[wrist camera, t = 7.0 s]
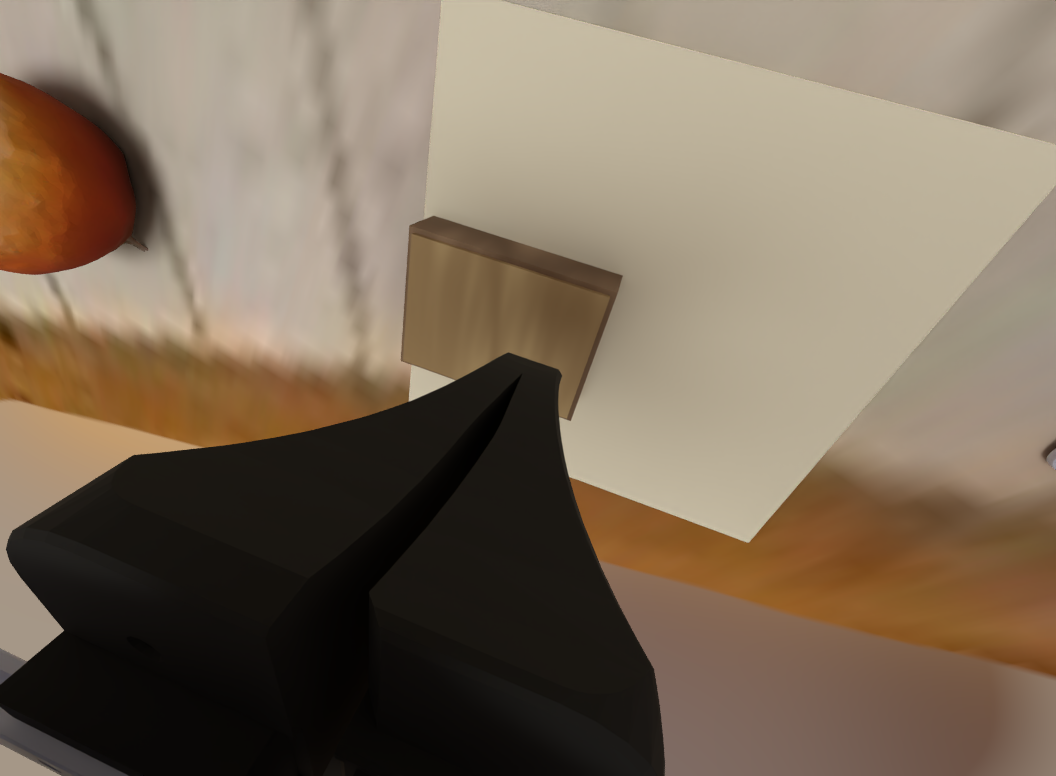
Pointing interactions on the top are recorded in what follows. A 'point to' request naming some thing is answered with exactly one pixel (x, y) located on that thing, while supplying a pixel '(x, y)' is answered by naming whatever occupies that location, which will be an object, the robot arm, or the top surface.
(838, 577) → the top surface
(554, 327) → the walnut tile
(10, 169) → the fruit
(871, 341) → the mat
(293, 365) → the top surface
